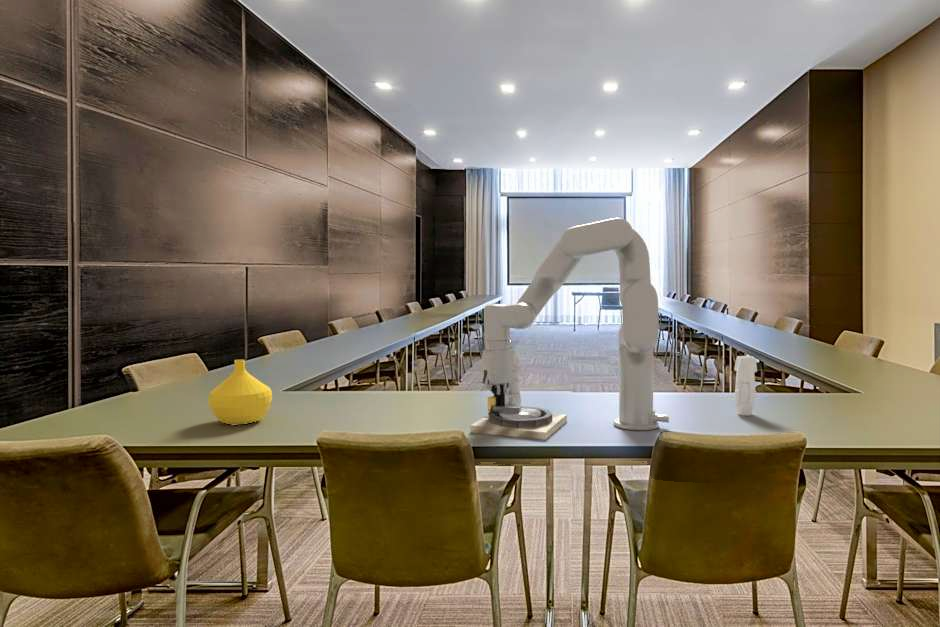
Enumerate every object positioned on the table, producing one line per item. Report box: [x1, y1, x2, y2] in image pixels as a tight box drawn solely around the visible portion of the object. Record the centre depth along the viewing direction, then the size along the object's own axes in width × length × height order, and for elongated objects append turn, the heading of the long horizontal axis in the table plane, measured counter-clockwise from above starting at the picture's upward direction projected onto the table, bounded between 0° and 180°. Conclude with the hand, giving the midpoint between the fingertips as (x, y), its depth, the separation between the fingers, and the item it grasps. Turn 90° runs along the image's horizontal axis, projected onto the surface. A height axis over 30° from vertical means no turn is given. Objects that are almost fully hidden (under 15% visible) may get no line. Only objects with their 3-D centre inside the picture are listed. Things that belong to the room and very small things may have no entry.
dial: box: [487, 395, 541, 419], centre depth 183 cm, size 16×12×6 cm
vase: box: [208, 359, 273, 425], centre depth 193 cm, size 18×18×19 cm
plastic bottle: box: [505, 346, 522, 406], centre depth 208 cm, size 6×7×20 cm
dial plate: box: [469, 405, 568, 441], centre depth 183 cm, size 22×22×4 cm
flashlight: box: [733, 355, 758, 417], centre depth 194 cm, size 7×18×7 cm
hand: (499, 406), depth 188 cm, fingers closed
